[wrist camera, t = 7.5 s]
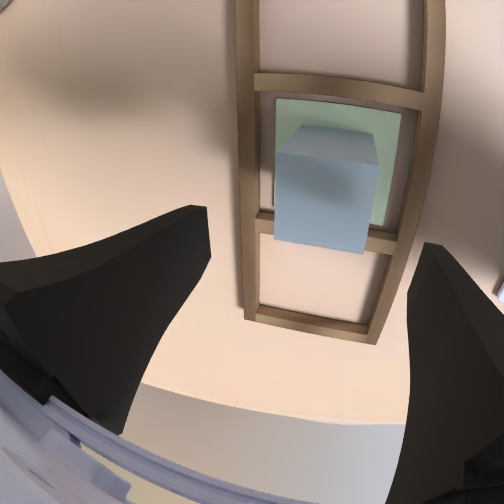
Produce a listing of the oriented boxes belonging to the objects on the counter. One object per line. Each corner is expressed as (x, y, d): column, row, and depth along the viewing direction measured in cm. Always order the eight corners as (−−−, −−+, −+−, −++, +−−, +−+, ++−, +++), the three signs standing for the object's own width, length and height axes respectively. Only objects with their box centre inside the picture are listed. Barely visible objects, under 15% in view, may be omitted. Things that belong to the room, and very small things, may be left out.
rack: (437, -38, 8) (441, -43, 7) (376, 335, 23) (375, 345, 23) (241, -52, 11) (234, -57, 10) (247, 310, 26) (244, 319, 25)
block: (372, 134, 15) (379, 166, 11) (363, 198, 18) (363, 254, 13) (301, 124, 16) (275, 152, 12) (298, 188, 19) (273, 239, 14)
